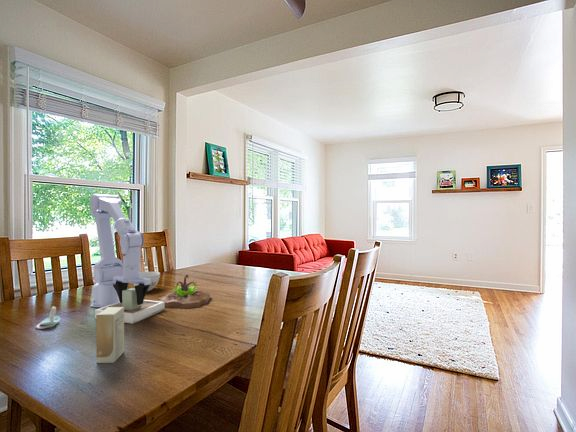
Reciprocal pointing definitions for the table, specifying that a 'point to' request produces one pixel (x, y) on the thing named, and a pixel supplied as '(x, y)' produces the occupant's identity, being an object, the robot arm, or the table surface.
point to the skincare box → (109, 334)
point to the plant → (185, 296)
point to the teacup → (152, 276)
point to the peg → (129, 299)
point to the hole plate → (142, 306)
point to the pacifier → (49, 320)
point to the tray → (140, 314)
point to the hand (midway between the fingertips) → (131, 303)
